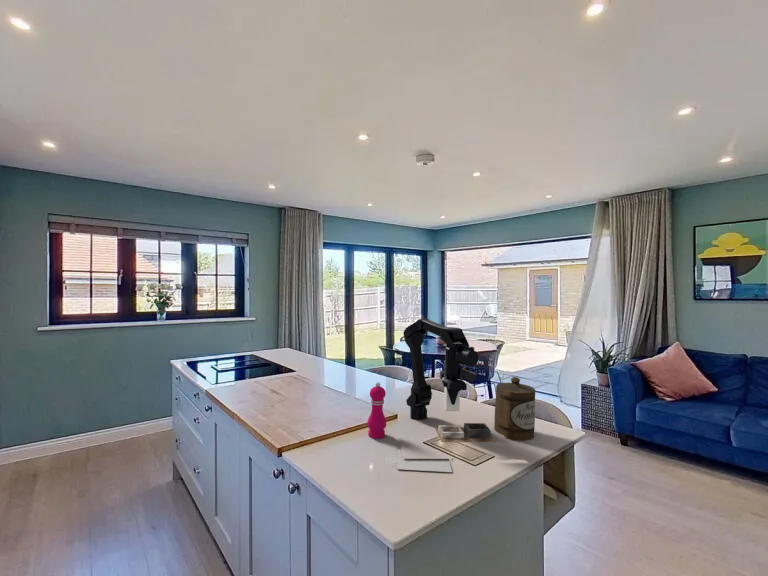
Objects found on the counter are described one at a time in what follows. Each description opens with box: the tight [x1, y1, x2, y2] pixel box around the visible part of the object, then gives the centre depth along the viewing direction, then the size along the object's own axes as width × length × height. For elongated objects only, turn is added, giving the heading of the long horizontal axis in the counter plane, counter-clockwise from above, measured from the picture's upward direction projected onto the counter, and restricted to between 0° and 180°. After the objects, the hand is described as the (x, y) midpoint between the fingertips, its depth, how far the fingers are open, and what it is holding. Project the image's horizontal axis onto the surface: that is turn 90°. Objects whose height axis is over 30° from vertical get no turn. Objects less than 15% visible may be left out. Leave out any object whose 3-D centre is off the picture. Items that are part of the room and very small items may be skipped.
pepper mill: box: [366, 382, 387, 440], centre depth 141 cm, size 7×7×20 cm
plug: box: [443, 386, 461, 412], centre depth 141 cm, size 5×4×9 cm
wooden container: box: [493, 376, 536, 442], centre depth 146 cm, size 15×15×22 cm
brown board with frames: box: [434, 422, 497, 443], centre depth 141 cm, size 20×14×4 cm
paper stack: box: [384, 448, 453, 473], centre depth 116 cm, size 23×25×1 cm
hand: (451, 402), depth 141 cm, fingers closed on plug, 4 cm apart
